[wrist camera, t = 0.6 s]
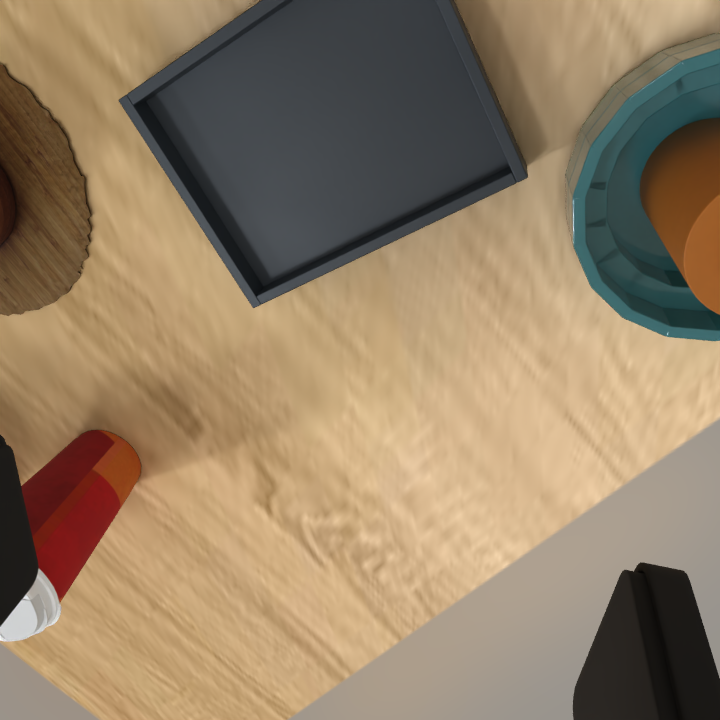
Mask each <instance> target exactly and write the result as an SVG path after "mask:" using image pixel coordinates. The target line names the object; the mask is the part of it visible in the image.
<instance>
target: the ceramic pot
mask: <svg viewBox="0 0 720 720" xmlns="http://www.w3.org/2000/svg"><path fill="white" fill-rule="evenodd" d="M84 182H85V179H84V176H80V174H79V171H78V169H77V167H76V165H75V164H74V162H73V154H72V152H71V151H70V149H69V145H68V140H67V138H66V136H65V135H64V133H63V132H62V130H61V129H60V128H59V126H58V124H57V123H56V122H54V121H53V120H52V119H51V117H50V115H49V113H48V111H47V110H45V109H43V108H41V107H40V106H39V104H38V103H37V102H36V101H35V99H34V97H33V95H32V94H31V93H30V91H29V90H28V89H27V88H26V87H25V86H23V85H21V84H19V83H17V82H15V81H14V80H13V79H12V78H10V77H9V76H8V74H7V72H6V70H5V67H4V66H3V65H0V314H3V315H7V316H9V315H11V314H23V313H24V312H25V311H31V310H38V309H40V308H42V307H43V306H46V305H49V304H51V303H54V302H55V301H57V299H58V297H59V296H60V295H63V294H66V293H68V292H69V290H70V287H71V285H73V284H74V283H75V282H76V281H77V280H78V279H79V278H80V275H81V274H80V273H78V271H79V270H81V269H83V268H81V267H80V266H81V265H82V261H85V260H86V259H87V257H88V254H87V252H86V250H85V249H84V248H87V247H86V245H89V239H88V237H87V235H88V234H89V233H90V230H91V227H90V225H89V223H88V220H87V219H88V218H89V217H91V216H90V213H89V209H88V207H87V205H86V197H85V191H84Z"/></svg>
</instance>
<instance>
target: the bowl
mask: <svg viewBox="0 0 720 720" xmlns="http://www.w3.org/2000/svg"><path fill="white" fill-rule="evenodd" d="M710 118H720V33H717V34H711V35H708V36H705V37H702V38H699V39H696V40H693V41H690V42H687V43H684V44H681V45H678V46H675V47H672V48H669V49H665V50H662V51H661V52H659V53H657V54H656V55H654V56H653V57H652V58H650V59H649V60H647V61H646V62H645V63H643V64H642V65H640V66H639V67H638V68H636V69H635V70H633V71H632V72H631V73H629V74H628V75H627V76H625V77H624V78H622V79H621V80H620V81H618V82H617V83H615V85H613V86H612V87H611V89H610V90H609V91H608V93H607V94H606V95H605V97H604V98H603V99H602V101H601V102H600V103H599V105H598V106H597V107H596V109H595V110H594V111H593V112H592V114H591V115H590V116H589V118H588V119H587V120H586V122H585V123H584V124H583V126H582V128H581V129H580V132H579V135H578V138H577V141H576V144H575V147H574V150H573V153H572V156H571V159H570V161H569V164H568V167H567V170H566V174H565V188H566V219H567V223H568V227H569V231H570V235H571V239H572V243H573V247H574V249H575V251H576V254H577V256H578V258H579V261H580V263H581V265H582V268H583V270H584V272H585V275H586V277H587V279H588V282H589V284H590V286H591V288H592V289H593V290H594V291H595V292H596V293H598V294H599V295H600V296H601V297H602V298H603V299H604V300H605V301H606V302H607V303H608V304H609V305H610V306H611V307H612V308H613V309H614V310H615V311H616V312H617V313H618V314H619V315H620V316H621V317H622V318H624V319H626V320H629V321H631V322H633V323H636V324H638V325H640V326H643V327H645V328H647V329H650V330H652V331H654V332H657V333H659V334H661V335H664V336H667V337H675V338H686V339H697V340H708V341H720V315H719V314H717V313H715V312H713V311H712V310H710V309H709V308H707V307H706V306H705V305H703V304H702V303H701V302H700V301H699V300H698V299H697V298H696V296H695V295H694V294H693V292H692V291H691V289H690V287H689V286H688V284H687V282H686V281H685V279H684V277H683V276H682V274H681V272H680V271H679V269H678V267H677V266H676V264H675V262H674V261H673V259H672V257H671V255H670V254H669V252H668V250H667V249H666V247H665V245H664V244H663V242H662V240H661V239H660V237H659V235H658V234H657V232H656V230H655V229H654V227H653V225H652V224H651V222H650V220H649V218H648V217H647V215H646V213H645V211H644V209H643V207H642V203H641V199H640V181H641V176H642V172H643V169H644V167H645V164H646V162H647V160H648V159H649V157H650V155H651V154H652V152H653V151H654V150H655V148H656V147H657V146H658V145H659V144H660V143H661V142H662V141H663V140H664V139H665V138H666V137H668V136H669V135H670V134H672V133H673V132H674V131H676V130H678V129H679V128H681V127H683V126H685V125H687V124H690V123H693V122H695V121H699V120H703V119H710Z"/></svg>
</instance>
